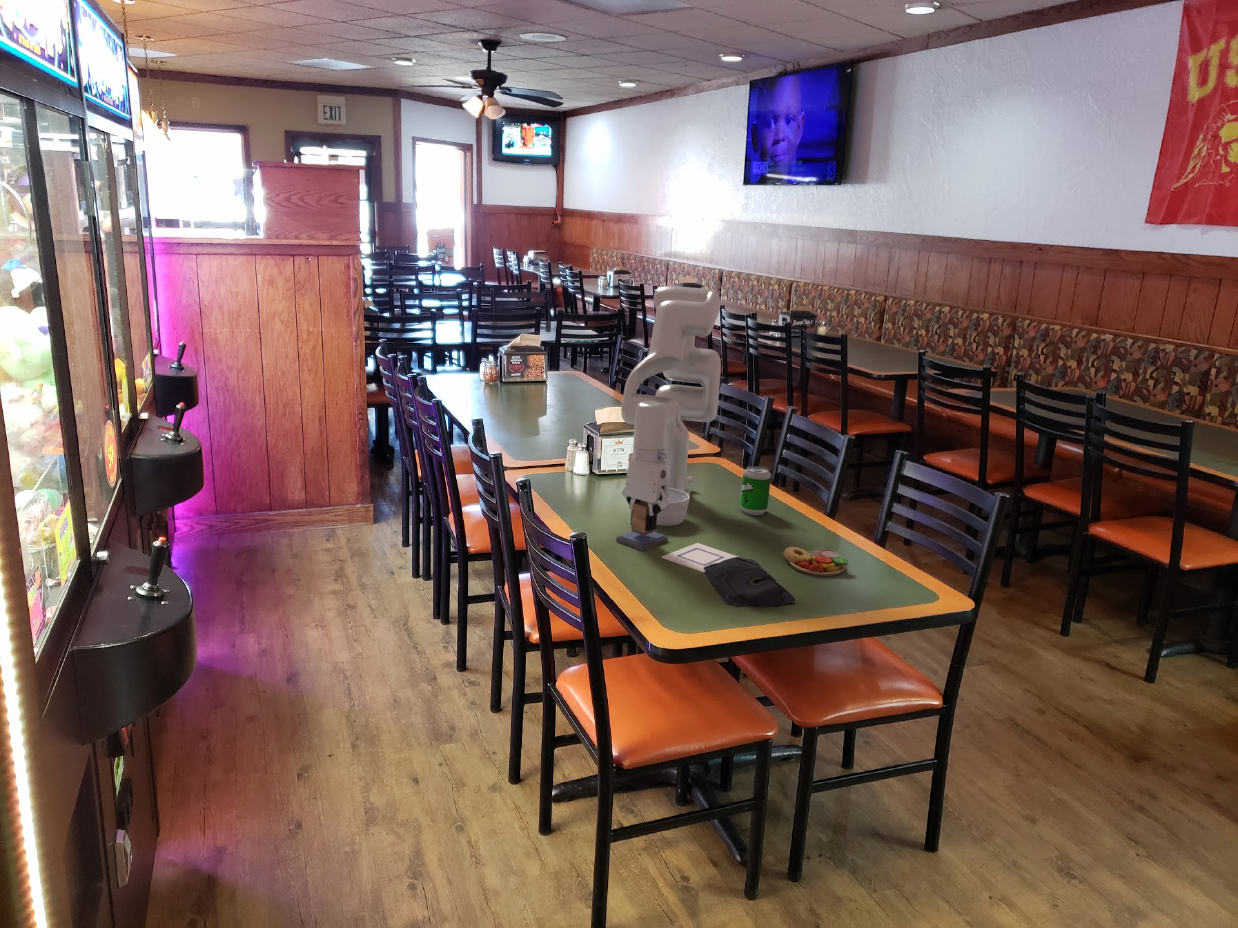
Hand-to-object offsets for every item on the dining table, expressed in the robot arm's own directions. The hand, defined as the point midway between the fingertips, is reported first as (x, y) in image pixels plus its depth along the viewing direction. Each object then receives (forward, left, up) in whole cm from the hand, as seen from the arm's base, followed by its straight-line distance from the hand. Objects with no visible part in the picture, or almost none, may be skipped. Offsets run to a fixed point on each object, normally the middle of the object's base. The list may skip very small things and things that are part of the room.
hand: (643, 526), depth 214 cm
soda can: (-42, +5, -4) cm, 43 cm away
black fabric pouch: (+4, +32, -4) cm, 33 cm away
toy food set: (-19, +37, -4) cm, 42 cm away
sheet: (-2, +16, -4) cm, 16 cm away
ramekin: (-17, -7, -4) cm, 19 cm away
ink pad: (0, 0, -4) cm, 4 cm away
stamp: (0, 0, -1) cm, 1 cm away
